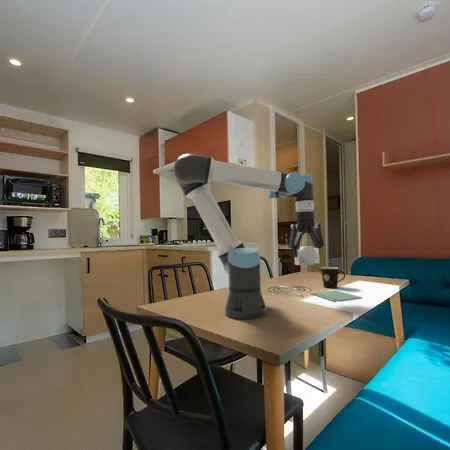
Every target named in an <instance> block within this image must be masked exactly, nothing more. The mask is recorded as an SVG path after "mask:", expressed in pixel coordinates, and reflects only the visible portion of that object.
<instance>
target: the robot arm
mask: <svg viewBox="0 0 450 450" xmlns="http://www.w3.org/2000/svg"><path fill="white" fill-rule="evenodd" d="M173 174H174V176H175V182H176V183H177V184H178V186H179V187H180V189H181V190H182V192H183V194H184V196H185V197H186V198H188V199H190V200H191V201H192V203H193V204H194V206H195V208H196V210H197V212H198V214H199V216H200V218H201V219H202V221H203V224H204V225H205V228H206V229H207V231H208V233H209V234H210V236H211V238H212V240H213V241H214V244H215V245H216V247H217V249H218V252H217V256H218V258H219V261H220V262H221V264H222V266H223V269H224V271H225V272H226V274H228V295H227V299H226V302H225V305H224V314H225V316H227V317H229V318H232V319H238V320H250V319H251V320H252V319H258V318H261V317H264V316H265V315H266V314H267V305H266V303H265V300H264V297H263V295H262V292H261V291H262V290H261V289H262V287H261V285H262V284H261V256H260V252H259V251H258V250H257V249H255V248H249V247H245V245H244V242H243V241H241V240H238V238H237V237H236V235H235V234H234V232H233V230H232V228H231V226H230V225H229V224H230V223H229V222H228V220H227V219H226V217H225V215H224V213H223V212H222V209H221V208H220V206H219V204H218V202H217V200H216V199H215V196H214V195H213V193H212V191H211V189H210V188H211V182H215V183H222V184H226V185H227V184H228V185H233V186H234V185H235V186H240V187H245V188H246V187H247V188H252V189H257V190H265V191H266V194H267V197H268V198H269V199H295V200H294V202H295V220H296V224H290V227H289V228H290V233H289V238H288V244H287V245H288V246H287V248H289V249H291V250H292V256H293V258H294V265H296V266H300V254H299V249H300V248H299V246H300V243H301V241H302V238H303V236H304V235H305V234H308V236H309V237H310V239H311V241H312V243H313V246H314V250H315V252H316V255H317V259H316V261H315V262H314V264H320V256H321V249H322V248H323V247H325V242H324V238H323V234H322V230H321V223H315V222H314V221H315V212H314V210H315V204H314V203H315V202H314V201H315V200H314V180H313V176H312V175H311V174H305V173H304V174H301V173H300V172H296V171H294V172H289V173H287V172H283V171H282V172H281V171H276V170H270V169H264V168H260V167H253V166H248V165H241V164H236V163H230V162H224V161H219V160H215V158H213V157H212V156H207V155H201V154H196V153H186V154H182V155H180V156H179V157H178V158H177V159H176V160H175V162H174V165H173Z"/></svg>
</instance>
